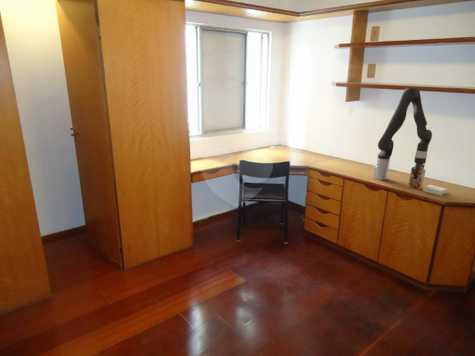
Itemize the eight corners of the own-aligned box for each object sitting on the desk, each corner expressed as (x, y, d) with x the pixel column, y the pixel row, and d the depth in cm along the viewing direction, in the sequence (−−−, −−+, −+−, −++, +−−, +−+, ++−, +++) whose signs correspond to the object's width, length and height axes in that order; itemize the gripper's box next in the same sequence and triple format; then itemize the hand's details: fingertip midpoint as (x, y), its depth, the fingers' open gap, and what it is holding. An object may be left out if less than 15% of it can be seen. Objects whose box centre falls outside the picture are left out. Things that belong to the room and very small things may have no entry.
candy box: (407, 186, 261) (411, 167, 257) (410, 185, 263) (414, 166, 259) (419, 189, 254) (423, 170, 250) (422, 189, 256) (426, 169, 252)
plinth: (422, 190, 252) (423, 186, 251) (429, 188, 258) (429, 184, 257) (440, 195, 243) (441, 191, 242) (445, 192, 249) (446, 188, 248)
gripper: (420, 154, 258) (416, 176, 264) (411, 156, 250) (407, 179, 255) (430, 156, 253) (425, 178, 258) (421, 159, 244) (417, 181, 249)
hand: (416, 178), depth 257 cm, fingers closed on candy box, 4 cm apart
